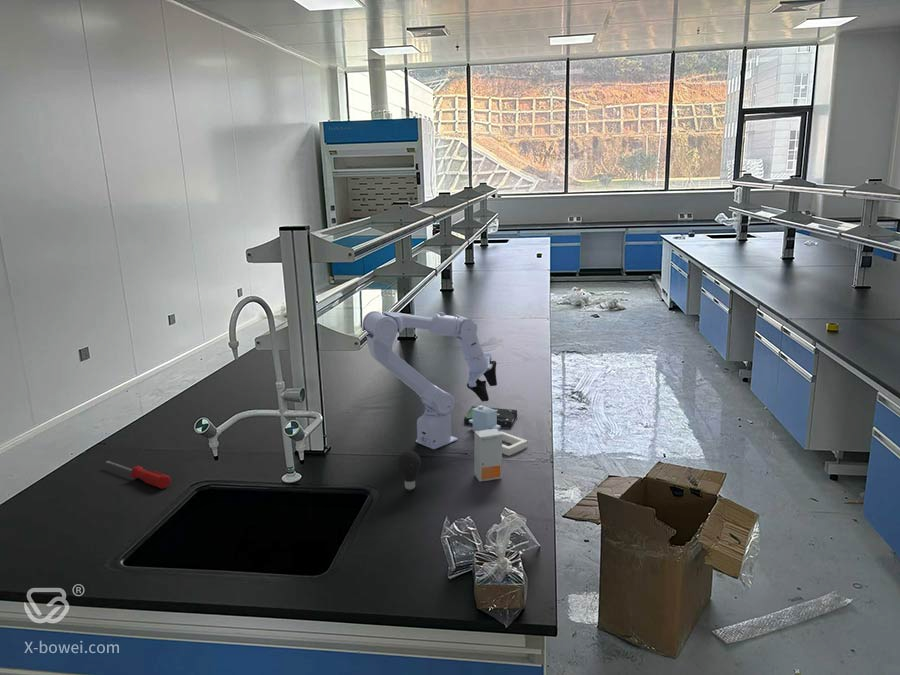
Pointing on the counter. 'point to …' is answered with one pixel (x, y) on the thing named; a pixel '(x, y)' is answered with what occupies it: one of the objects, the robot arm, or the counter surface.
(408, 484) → the light bulb
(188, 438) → the counter surface
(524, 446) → the frame
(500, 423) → the disk drive
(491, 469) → the skincare box
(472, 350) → the robot arm
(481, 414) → the block
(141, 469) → the screwdriver
